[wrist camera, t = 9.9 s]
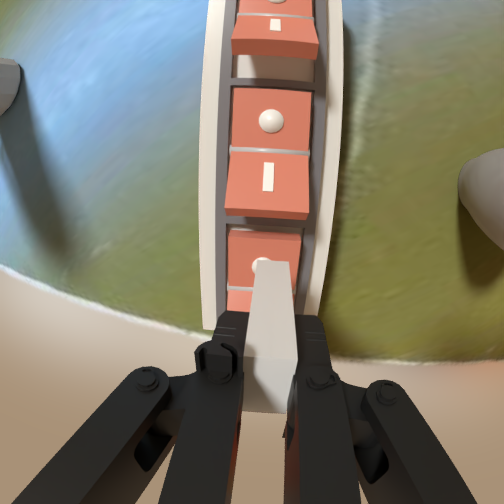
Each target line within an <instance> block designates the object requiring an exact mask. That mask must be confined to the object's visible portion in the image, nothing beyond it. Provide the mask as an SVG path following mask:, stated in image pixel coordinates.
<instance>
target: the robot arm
mask: <svg viewBox="0 0 504 504" xmlns="http://www.w3.org/2000/svg"><path fill="white" fill-rule="evenodd" d="M324 333H325V332H324V327H323V323H322V322H321V321H320V320H319V318H318V317H317V316H316V315H301V314H294V308H293V298H292V287H291V278H290V268H289V262H286V261H271V260H257V265H256V272H255V279H254V286H253V293H252V300H251V307H250V312H242V311H230V310H225V311H224V312H223V313H222V314H221V315H220V316H219V317H218V320H217V323H216V328H215V330H214V334H213V337H212V340H211V341H207V342H204V343H203V344H201V345H200V346H198V347H197V349H196V350H195V352H194V354H195V362H196V370H197V371H196V372H194V373H192V374H189V375H185V376H175V377H168V376H167V374H166V373H165V372H164V371H162V370H161V369H159V368H156V367H152V366H150V367H141V368H138V369H135V370H134V371H133V372H131V373H130V374H129V375H128V376H127V377H126V378H125V379H124V380H123V381H122V382H121V383H120V385H119V386H118V387H117V388H116V389H115V390H114V391H113V392H112V393H111V394H110V395H109V396H108V398H107V399H106V400H105V401H104V402H103V403H102V404H101V405H100V406H99V407H98V408H97V410H96V411H95V412H94V413H93V414H92V415H91V416H90V417H89V418H88V419H87V420H86V422H85V423H84V424H83V425H82V426H81V427H80V428H79V429H78V430H77V431H76V432H75V434H74V435H73V436H72V437H71V438H70V439H69V440H68V441H67V442H66V443H65V445H64V446H63V447H62V448H61V449H60V450H59V451H58V452H57V453H56V454H55V456H54V457H53V458H52V459H51V460H50V461H49V462H48V463H47V464H46V466H45V467H44V468H43V469H42V470H41V471H40V472H39V473H38V475H37V476H36V477H35V478H34V479H33V480H32V481H31V482H30V483H29V485H28V486H27V487H26V488H25V489H24V490H23V491H22V492H21V493H20V495H19V496H18V497H17V498H16V499H15V500H14V501H13V503H12V504H135V503H136V501H137V500H138V499H139V497H140V496H141V494H142V493H143V491H144V490H145V488H146V487H147V485H148V484H149V482H150V481H151V479H152V478H153V476H154V475H155V473H156V472H157V470H158V469H159V467H160V466H161V464H162V463H163V461H164V460H165V458H166V457H167V455H168V454H169V452H170V450H171V449H172V447H173V446H174V444H175V446H174V450H173V453H172V456H171V460H170V463H169V467H168V470H167V474H166V477H165V481H164V484H163V488H162V491H161V495H160V498H159V502H158V504H230V503H231V497H232V490H233V481H234V474H235V466H236V459H237V451H238V444H239V436H240V428H241V414H242V411H248V412H262V413H281V414H285V413H286V410H287V421H286V426H285V429H284V433H283V436H282V437H283V438H285V475H284V504H361V497H360V489H359V483H360V485H361V487H362V490H363V492H364V494H365V497H366V499H367V501H368V503H369V504H477V502H476V501H475V499H474V497H473V495H472V494H471V492H470V490H469V489H468V487H467V485H466V484H465V482H464V480H463V479H462V477H461V475H460V474H459V472H458V471H457V469H456V467H455V466H454V464H453V462H452V461H451V459H450V458H449V456H448V455H447V453H446V451H445V450H444V448H443V447H442V445H441V444H440V442H439V441H438V439H437V437H436V436H435V435H434V433H433V432H432V430H431V428H430V427H429V425H428V424H427V423H426V421H425V419H424V418H423V416H422V415H421V414H420V412H419V411H418V409H417V408H416V406H415V405H414V403H413V402H412V400H411V399H410V398H409V396H408V395H407V393H406V392H405V390H404V389H403V388H402V387H401V386H400V385H399V384H396V383H395V382H393V381H389V380H377V381H375V382H373V383H371V384H370V386H369V387H368V388H362V387H357V386H353V385H350V384H347V383H345V382H343V381H341V380H340V378H339V376H338V374H337V373H335V372H334V371H333V369H332V365H331V360H330V355H329V350H328V346H327V341H326V336H325V334H324ZM358 481H359V482H358Z"/></svg>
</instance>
